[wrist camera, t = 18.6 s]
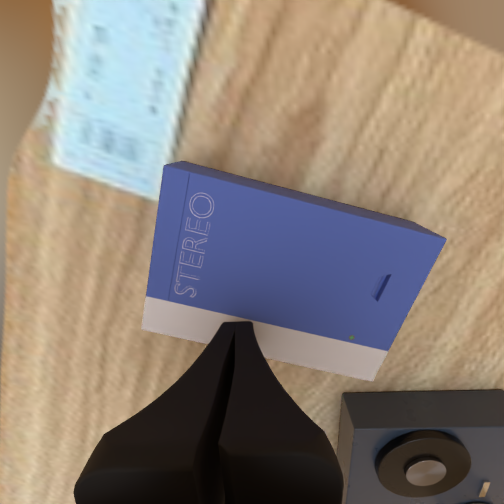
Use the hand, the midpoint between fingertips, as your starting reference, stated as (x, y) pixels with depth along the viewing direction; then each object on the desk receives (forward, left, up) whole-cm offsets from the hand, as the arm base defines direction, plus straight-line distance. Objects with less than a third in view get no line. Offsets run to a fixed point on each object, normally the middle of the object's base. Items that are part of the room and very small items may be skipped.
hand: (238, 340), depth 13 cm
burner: (-10, -10, -1) cm, 14 cm away
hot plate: (-13, -12, -3) cm, 18 cm away
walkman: (+1, -8, -2) cm, 8 cm away
